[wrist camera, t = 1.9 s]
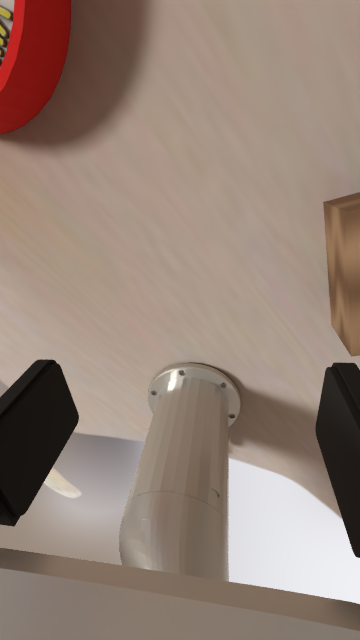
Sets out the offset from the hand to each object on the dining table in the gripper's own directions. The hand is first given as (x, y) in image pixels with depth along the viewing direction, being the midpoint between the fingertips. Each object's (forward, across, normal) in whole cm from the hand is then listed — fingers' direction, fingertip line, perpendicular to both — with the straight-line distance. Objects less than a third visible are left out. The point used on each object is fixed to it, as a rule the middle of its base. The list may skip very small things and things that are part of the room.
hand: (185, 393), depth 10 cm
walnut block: (+22, -13, +3) cm, 26 cm away
